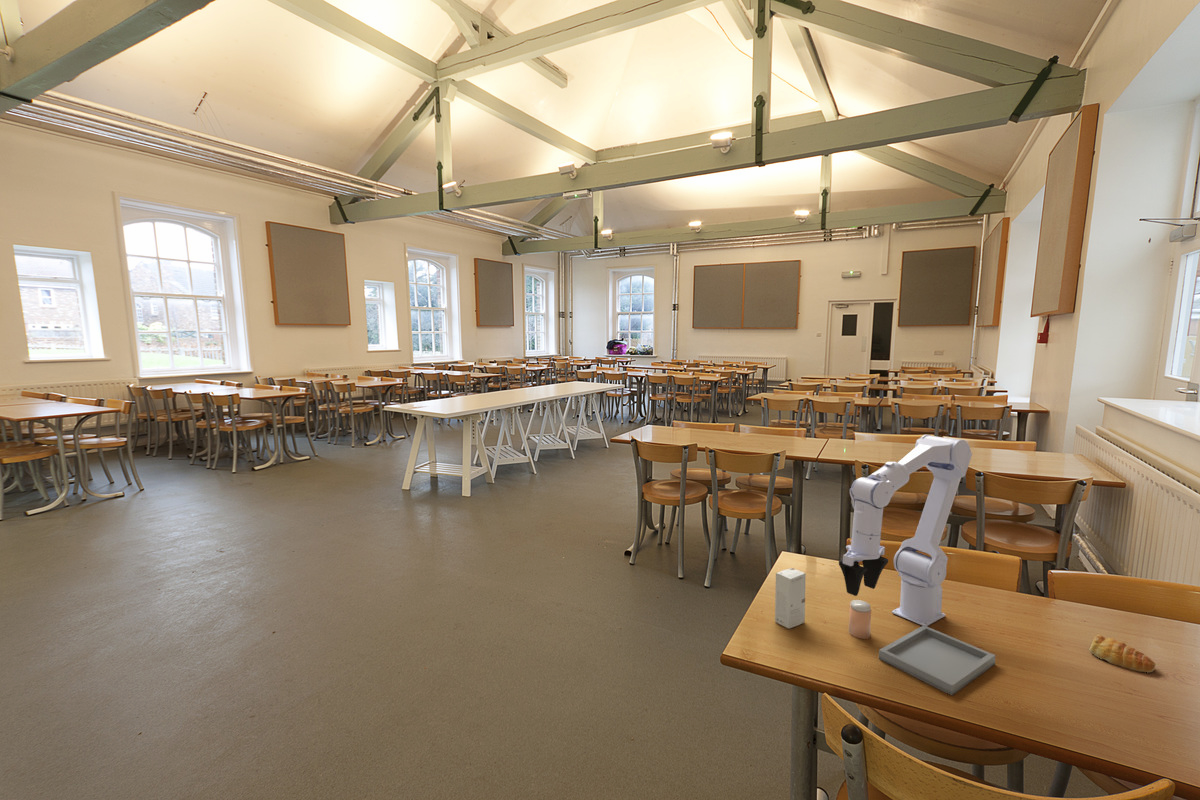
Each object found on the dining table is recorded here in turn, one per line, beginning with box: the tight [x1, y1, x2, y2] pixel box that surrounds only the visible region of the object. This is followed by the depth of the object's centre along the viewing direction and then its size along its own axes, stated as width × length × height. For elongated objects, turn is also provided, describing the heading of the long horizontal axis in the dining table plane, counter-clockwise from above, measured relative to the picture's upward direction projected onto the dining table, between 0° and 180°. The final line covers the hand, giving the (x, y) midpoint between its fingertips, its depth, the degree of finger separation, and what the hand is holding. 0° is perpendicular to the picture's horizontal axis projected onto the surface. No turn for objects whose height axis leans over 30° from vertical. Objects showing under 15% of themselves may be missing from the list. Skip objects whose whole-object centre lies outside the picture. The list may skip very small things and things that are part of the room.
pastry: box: [1088, 634, 1156, 674], centre depth 109 cm, size 9×7×4 cm
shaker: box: [848, 599, 872, 639], centre depth 120 cm, size 4×4×7 cm
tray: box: [878, 625, 996, 696], centre depth 109 cm, size 18×14×2 cm
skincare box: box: [774, 567, 806, 629], centre depth 125 cm, size 6×4×12 cm
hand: (861, 590), depth 119 cm, fingers open, 7 cm apart
